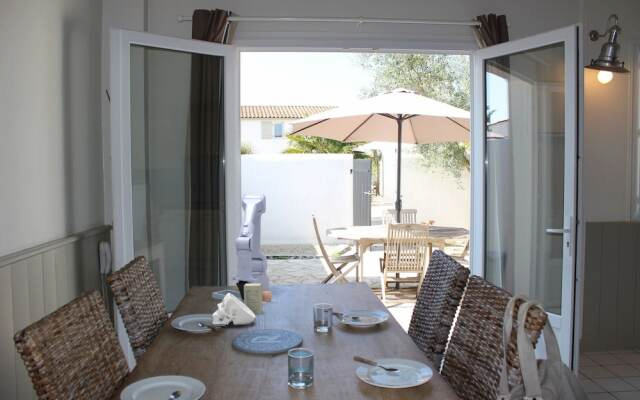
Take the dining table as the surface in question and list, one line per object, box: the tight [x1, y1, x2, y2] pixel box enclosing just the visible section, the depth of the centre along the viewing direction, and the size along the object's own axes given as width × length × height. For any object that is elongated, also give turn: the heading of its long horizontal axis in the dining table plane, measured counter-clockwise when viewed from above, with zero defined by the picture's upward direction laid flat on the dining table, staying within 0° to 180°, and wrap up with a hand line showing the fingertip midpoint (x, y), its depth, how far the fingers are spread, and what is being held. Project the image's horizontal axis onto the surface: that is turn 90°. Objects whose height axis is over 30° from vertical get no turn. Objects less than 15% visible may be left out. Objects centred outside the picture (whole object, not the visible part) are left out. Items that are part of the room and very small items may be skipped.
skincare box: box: [244, 283, 264, 319], centre depth 226 cm, size 6×4×12 cm
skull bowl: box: [211, 293, 256, 326], centre depth 215 cm, size 10×14×12 cm
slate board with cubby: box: [211, 289, 278, 305], centre depth 249 cm, size 15×24×4 cm, turn 47°
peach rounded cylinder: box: [262, 289, 272, 303], centre depth 245 cm, size 4×4×4 cm
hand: (244, 299), depth 244 cm, fingers closed
